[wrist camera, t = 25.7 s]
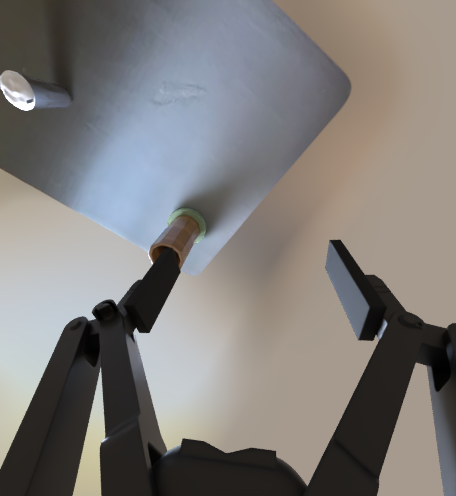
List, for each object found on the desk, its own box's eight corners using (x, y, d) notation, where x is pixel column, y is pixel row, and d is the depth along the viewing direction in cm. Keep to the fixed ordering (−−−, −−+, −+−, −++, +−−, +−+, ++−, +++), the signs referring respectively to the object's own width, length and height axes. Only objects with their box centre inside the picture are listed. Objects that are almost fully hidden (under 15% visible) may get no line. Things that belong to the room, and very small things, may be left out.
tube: (204, 223, 44) (188, 252, 34) (193, 244, 48) (176, 277, 38) (178, 209, 44) (154, 236, 34) (169, 232, 47) (145, 262, 37)
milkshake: (79, 119, 37) (27, 119, 29) (50, 102, 36) (-12, 97, 28) (81, 93, 35) (25, 84, 27) (50, 74, 34) (-17, 59, 26)
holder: (212, 219, 45) (203, 239, 38) (198, 247, 50) (187, 270, 42) (176, 200, 44) (159, 217, 36) (164, 231, 48) (147, 251, 41)
